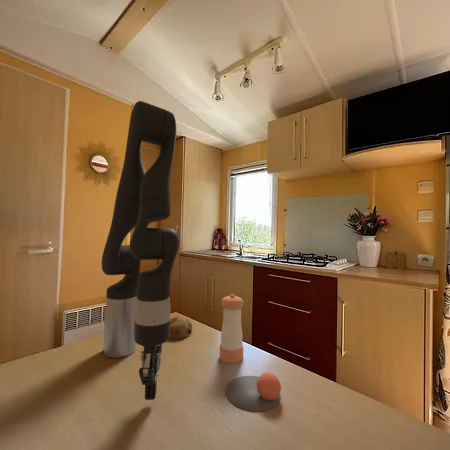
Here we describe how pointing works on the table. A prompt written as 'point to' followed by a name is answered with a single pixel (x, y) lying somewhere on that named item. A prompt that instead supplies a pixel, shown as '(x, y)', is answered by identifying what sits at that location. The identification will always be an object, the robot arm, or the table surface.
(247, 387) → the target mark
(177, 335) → the bread roll
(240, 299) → the pepper shaker
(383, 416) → the table surface
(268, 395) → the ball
